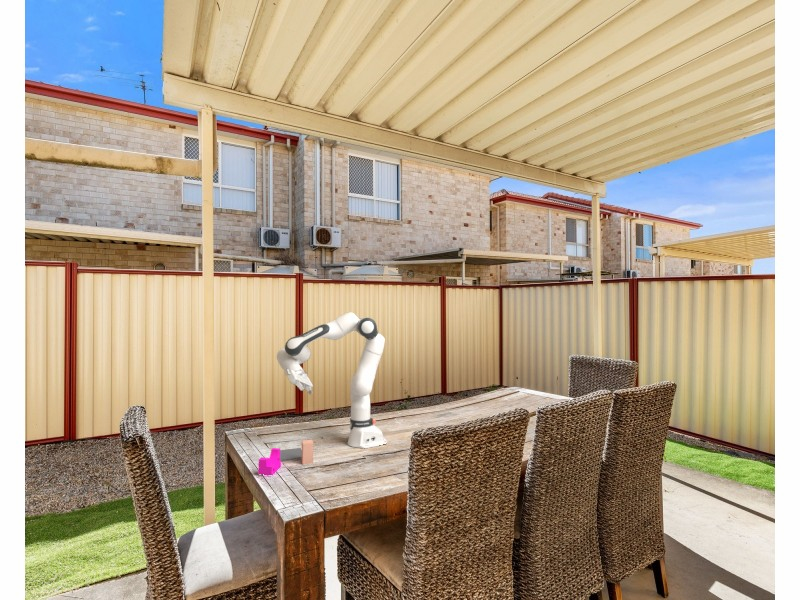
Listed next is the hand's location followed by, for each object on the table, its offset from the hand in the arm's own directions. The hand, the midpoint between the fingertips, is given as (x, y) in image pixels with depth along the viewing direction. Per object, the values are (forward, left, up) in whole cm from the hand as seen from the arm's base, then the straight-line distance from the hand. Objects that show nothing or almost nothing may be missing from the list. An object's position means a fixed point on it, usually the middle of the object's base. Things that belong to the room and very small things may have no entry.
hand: (307, 391), depth 209 cm
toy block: (+18, +17, -33) cm, 41 cm away
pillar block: (+1, +13, -32) cm, 35 cm away
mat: (+9, +1, -32) cm, 33 cm away
